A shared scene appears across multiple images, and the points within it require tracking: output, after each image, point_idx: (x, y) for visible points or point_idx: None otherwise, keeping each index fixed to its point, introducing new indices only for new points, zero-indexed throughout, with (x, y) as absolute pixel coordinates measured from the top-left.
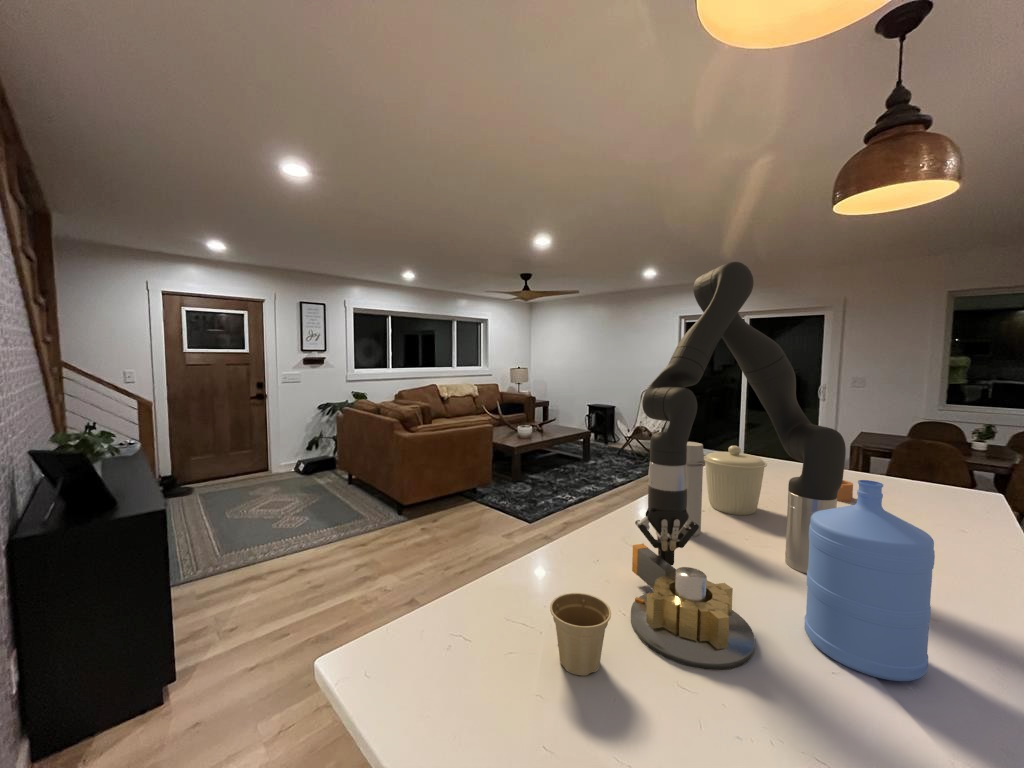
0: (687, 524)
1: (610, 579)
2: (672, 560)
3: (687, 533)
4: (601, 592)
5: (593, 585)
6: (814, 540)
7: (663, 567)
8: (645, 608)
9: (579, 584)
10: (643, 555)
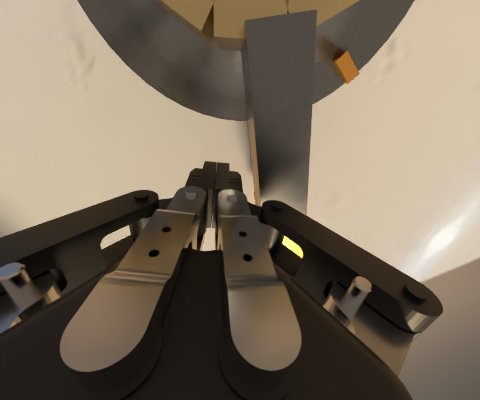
0: (14, 310)
1: (322, 204)
2: (195, 175)
3: (64, 238)
4: (376, 157)
5: (374, 186)
6: None
7: (302, 61)
8: (353, 20)
9: (400, 192)
10: (304, 198)
